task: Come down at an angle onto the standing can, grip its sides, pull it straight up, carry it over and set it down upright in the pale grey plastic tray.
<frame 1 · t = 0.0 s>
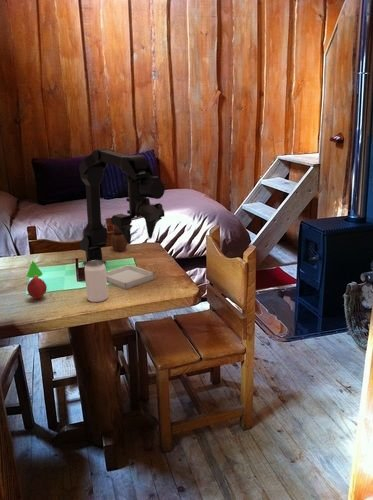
hand: (139, 240, 155), 15 cm above the table, tool pointing down, fingers open, 9 cm apart
red rounded piece: (38, 299, 147), on the table
brown rounded spiky piece: (119, 250, 194), on the table
tray: (127, 279, 162), on the table
green pyramid: (34, 276, 168), on the table
can: (97, 299, 146), on the table
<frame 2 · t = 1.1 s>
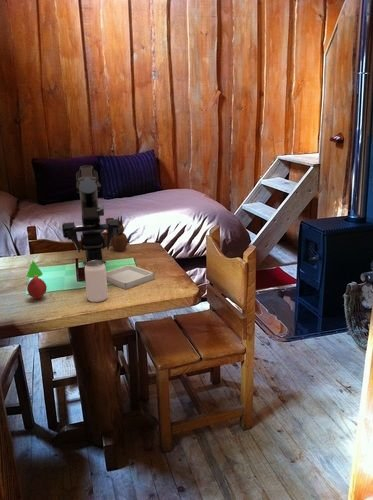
hand: (93, 250, 150), 13 cm above the table, tool tilted 45°, fingers open, 9 cm apart
nothing on the table moved.
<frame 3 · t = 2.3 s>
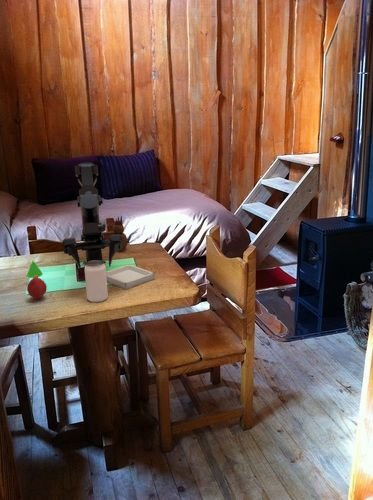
hand: (95, 267, 145), 10 cm above the table, tool tilted 45°, fingers open, 9 cm apart
nothing on the table moved.
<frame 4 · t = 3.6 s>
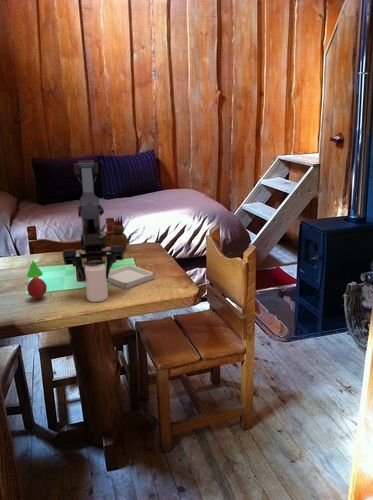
hand: (96, 279, 143), 7 cm above the table, tool tilted 45°, fingers closed on can, 6 cm apart
can: (97, 299, 146), on the table, touching gripper
everything else where it was.
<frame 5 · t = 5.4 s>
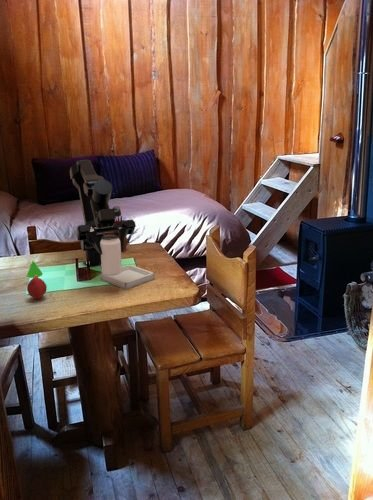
hand: (111, 252, 147), 14 cm above the table, tool tilted 45°, fingers closed on can, 6 cm apart
can: (112, 272, 150), point 6 cm above the table, touching gripper
everything else where it was.
when the fingers open (9 cm above the table, at t = 7.4 s): can stays where it is, resting on tray.
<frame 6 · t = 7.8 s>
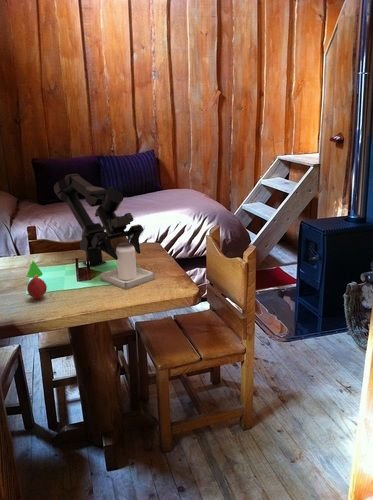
hand: (128, 256, 158), 9 cm above the table, tool tilted 45°, fingers open, 9 cm apart
can: (127, 278, 162), resting on tray
everything else where it was.
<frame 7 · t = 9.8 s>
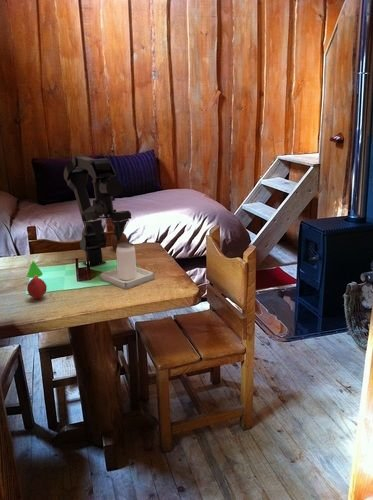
hand: (109, 240, 162), 13 cm above the table, tool pointing down, fingers open, 9 cm apart
nothing on the table moved.
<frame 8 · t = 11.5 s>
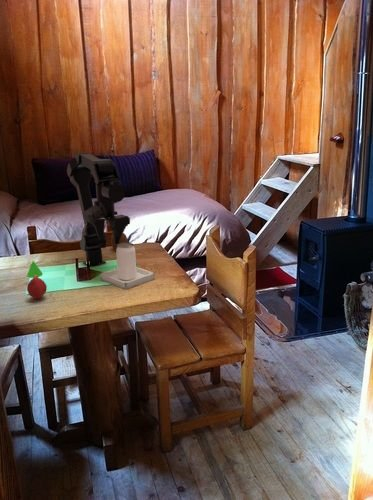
hand: (108, 241, 161), 13 cm above the table, tool pointing down, fingers open, 9 cm apart
nothing on the table moved.
at the end: can inside the target area on the tray (0.1 cm from its centre), point 0.4 cm above the tray's base; can tilted 0°; the gripper is holding nothing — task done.
